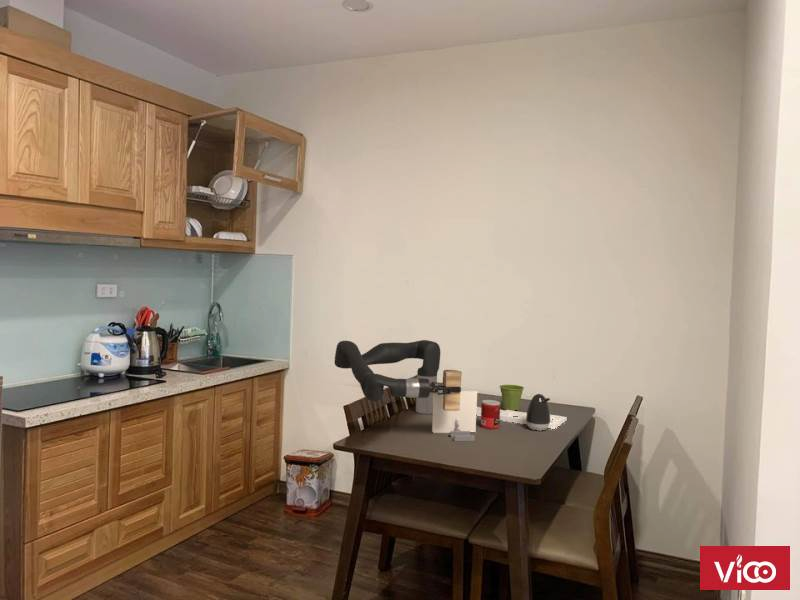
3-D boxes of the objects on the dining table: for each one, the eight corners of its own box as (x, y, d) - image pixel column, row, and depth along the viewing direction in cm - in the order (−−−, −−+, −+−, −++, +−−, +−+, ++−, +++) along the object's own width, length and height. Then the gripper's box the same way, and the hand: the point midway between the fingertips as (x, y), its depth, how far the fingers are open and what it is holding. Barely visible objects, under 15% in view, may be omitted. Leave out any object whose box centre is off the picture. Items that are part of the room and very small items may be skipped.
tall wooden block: (442, 408, 244) (444, 371, 243) (457, 408, 245) (459, 371, 244) (444, 410, 241) (446, 372, 240) (459, 410, 242) (461, 372, 241)
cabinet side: (431, 431, 252) (433, 390, 251) (474, 431, 255) (476, 390, 254) (439, 441, 238) (441, 397, 237) (484, 441, 241) (486, 398, 241)
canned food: (497, 430, 258) (498, 404, 258) (478, 428, 261) (480, 402, 260) (500, 426, 266) (502, 401, 265) (482, 424, 268) (483, 399, 268)
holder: (459, 414, 287) (459, 408, 287) (475, 407, 302) (475, 402, 302) (554, 431, 263) (554, 424, 263) (566, 423, 279) (567, 417, 278)
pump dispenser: (540, 433, 256) (542, 397, 255) (520, 428, 264) (522, 393, 263) (555, 430, 262) (557, 395, 261) (535, 425, 270) (537, 390, 269)
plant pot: (496, 406, 305) (498, 384, 304) (521, 407, 304) (522, 385, 304) (499, 412, 293) (500, 388, 292) (524, 413, 292) (526, 389, 292)
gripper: (420, 381, 233) (464, 382, 236) (413, 375, 247) (455, 375, 250) (419, 401, 233) (463, 401, 236) (412, 393, 247) (454, 394, 250)
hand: (459, 388), depth 243 cm, fingers closed on tall wooden block, 3 cm apart
